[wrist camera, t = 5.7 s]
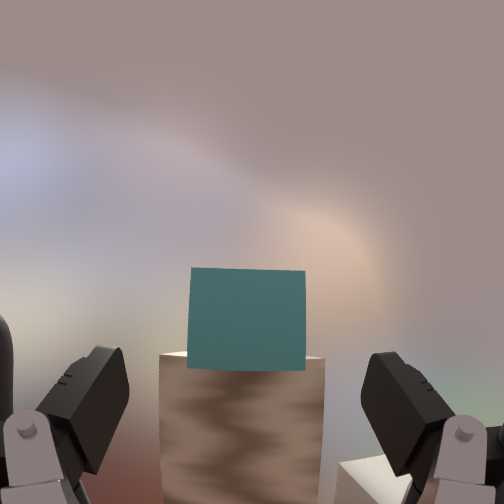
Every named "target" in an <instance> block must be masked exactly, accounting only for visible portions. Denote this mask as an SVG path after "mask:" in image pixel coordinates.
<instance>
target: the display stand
mask: <svg viewBox="0 0 504 504" xmlns="http://www.w3.org/2000/svg"><path fill="white" fill-rule="evenodd" d="M324 386H325V358H319V357H312V356H306V371H229V370H207V369H191V368H187V351H183V352H175V353H167V354H160V355H159V437H160V461H161V476H162V491H163V502H164V504H317V495H318V485H319V474H320V461H321V449H322V433H323V414H324V413H323V412H324Z"/></svg>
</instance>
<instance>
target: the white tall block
mask: <svg viewBox="0 0 504 504" xmlns="http://www.w3.org/2000/svg"><path fill="white" fill-rule="evenodd" d="M411 479H412V477H411V475H410V474H406V475H403V476H399V477H395V474H394V472H393V470H392V468H391V466H390V464H389V462H388V460H387V457H386V455H385V454H384V455H380V456H375V457H370V458H365V459H359V460H353V461H347V462H340V463H338V473H337V483H336V491H335V499H334V504H401V502H402V500H403V497H404V494H405V492H406V489H407V486H408V484H409V482H410V481H411Z"/></svg>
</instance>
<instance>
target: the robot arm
mask: <svg viewBox="0 0 504 504" xmlns="http://www.w3.org/2000/svg"><path fill="white" fill-rule="evenodd" d="M128 399H129V383H128V379H127V374H126V369H125V364H124V358H123V353H122V351H121V349H120V348H118V347H111V346H104V345H97V346H96V347H95V348H94V349H93V351H92V352H91V353H90V355H89V356H88V357H87V358H85V357H83V358H81V359H79V360H78V361H76V362H74V363H73V364H71V365H70V367H69V368H68V369H67V370H66V371H65V373H64V376H61V378H60V379H59V380H58V383H56V384H55V385H54V386H53V388H52V389H51V390H50V391H49V393H48V394H47V395H46V397H45V398H44V399H43V401H42V402H41V403H40V405H39V406H38V407H37V409H36V410H22V411H18V412H16V413H14V414H13V344H12V339H11V334H10V330H9V327H8V325H7V323H6V322H5V320H4V319H3V317H2V316H1V315H0V504H91V503H90V501H89V499H88V497H87V494H86V492H85V490H84V487H83V485H82V482H81V481H80V477H81V475H82V472H83V471H84V472H87V473H91V474H94V475H97V472H98V470H99V467H100V465H101V463H102V460H103V458H104V456H105V453H106V451H107V449H108V446H109V444H110V442H111V439H112V437H113V434H114V432H115V430H116V428H117V426H118V423H119V421H120V419H121V417H122V414H123V412H124V410H125V408H126V406H127V403H128ZM361 405H362V408H363V410H364V412H365V414H366V416H367V418H368V420H369V422H370V424H371V426H372V428H373V430H374V432H375V434H376V437H377V439H378V441H379V443H380V445H381V447H382V449H383V451H384V453H385V455H386V457H387V460H388V462H389V464H390V466H391V468H392V470H393V472H394V474H395V477H399V476H403V475H406V474H410V475H411V477H412V479H411V481H410V482H409V484H408V486H407V489H406V492H405V494H404V497H403V500H402V502H401V504H504V423H503V425H502V426H497V427H486V428H485V427H484V425H483V424H482V423H481V422H480V421H479V420H477V419H476V418H474V417H471V416H468V415H455V414H454V412H453V411H452V410H451V409H450V407H449V406H448V405H447V404H446V403H445V401H444V400H443V399H442V397H441V396H440V395H439V394H438V393H437V391H436V390H434V388H433V387H432V385H431V384H430V383H428V381H427V379H426V378H425V377H424V376H423V375H422V373H421V372H420V371H418V370H416V369H415V368H413V367H412V366H410V365H408V364H405V363H404V361H403V360H402V359H401V358H400V357H399V356H398V354H397V353H396V352H385V353H375V354H373V355H372V356H371V358H370V361H369V365H368V368H367V372H366V376H365V379H364V383H363V387H362V391H361Z"/></svg>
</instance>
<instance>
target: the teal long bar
mask: <svg viewBox="0 0 504 504" xmlns="http://www.w3.org/2000/svg"><path fill="white" fill-rule="evenodd" d="M305 286H306V285H305V271H289V270H252V269H249V270H248V269H220V268H191V282H190V299H189V319H188V342H187V343H188V344H187V368H191V369H207V370H229V371H306V287H305Z"/></svg>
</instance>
